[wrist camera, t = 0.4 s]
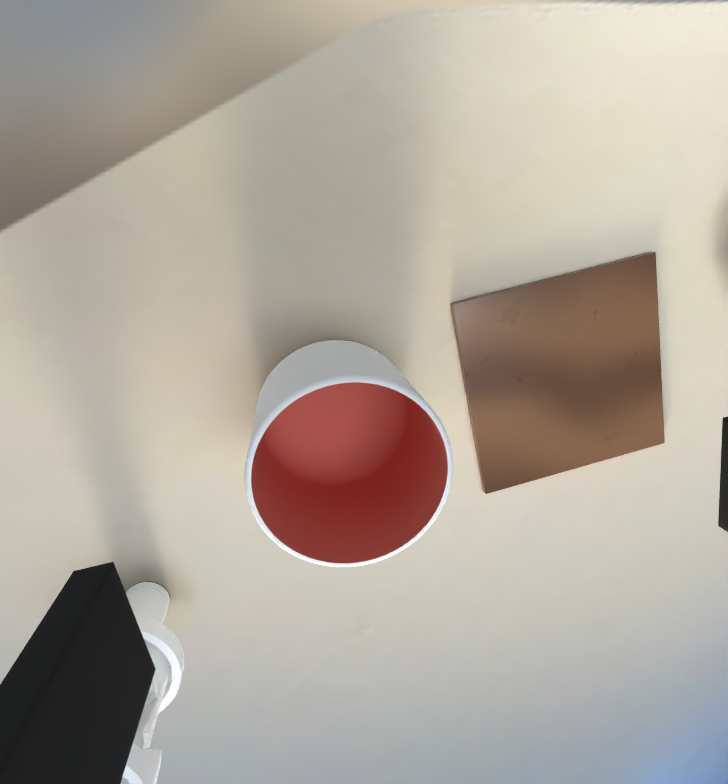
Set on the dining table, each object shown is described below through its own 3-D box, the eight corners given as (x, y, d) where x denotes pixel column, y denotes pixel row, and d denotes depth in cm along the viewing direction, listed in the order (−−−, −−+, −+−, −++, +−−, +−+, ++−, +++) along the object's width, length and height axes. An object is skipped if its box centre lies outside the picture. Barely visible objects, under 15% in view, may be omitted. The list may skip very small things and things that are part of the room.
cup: (437, 411, 35) (493, 475, 25) (330, 506, 36) (346, 603, 26) (337, 303, 32) (359, 329, 22) (223, 410, 33) (197, 480, 23)
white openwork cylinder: (193, 644, 37) (136, 894, 23) (90, 639, 36) (-39, 901, 22) (204, 561, 35) (149, 776, 21) (95, 552, 34) (-41, 776, 20)
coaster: (450, 303, 33) (452, 304, 32) (651, 251, 34) (655, 251, 33) (483, 491, 37) (485, 494, 37) (661, 441, 38) (664, 443, 38)
